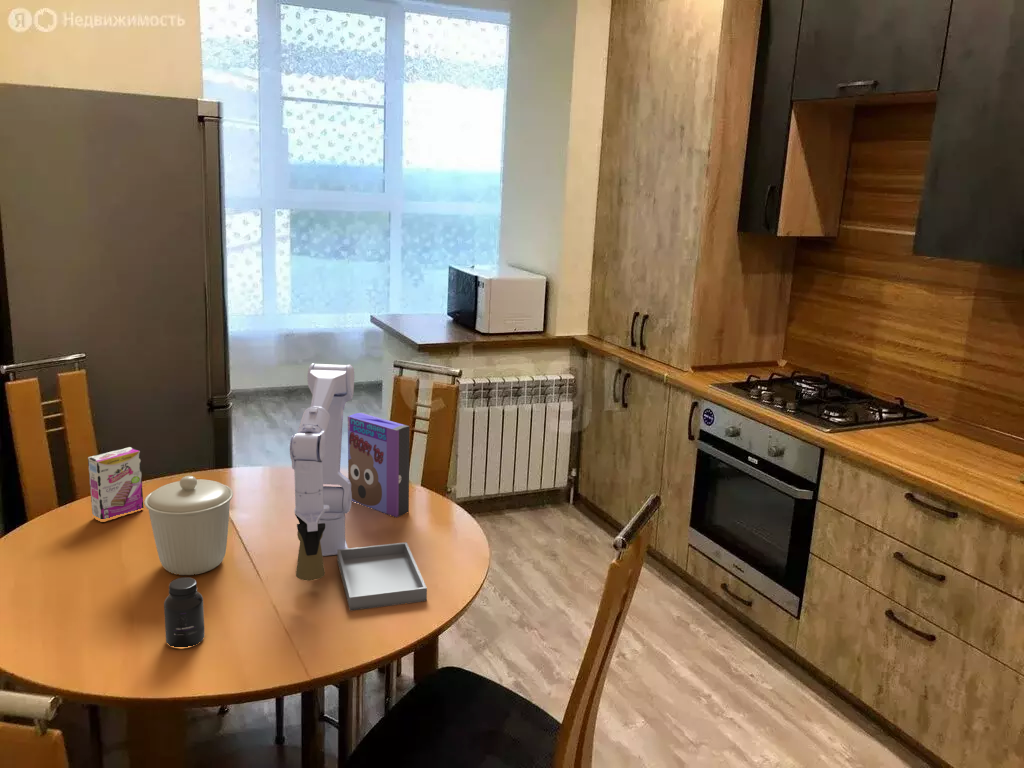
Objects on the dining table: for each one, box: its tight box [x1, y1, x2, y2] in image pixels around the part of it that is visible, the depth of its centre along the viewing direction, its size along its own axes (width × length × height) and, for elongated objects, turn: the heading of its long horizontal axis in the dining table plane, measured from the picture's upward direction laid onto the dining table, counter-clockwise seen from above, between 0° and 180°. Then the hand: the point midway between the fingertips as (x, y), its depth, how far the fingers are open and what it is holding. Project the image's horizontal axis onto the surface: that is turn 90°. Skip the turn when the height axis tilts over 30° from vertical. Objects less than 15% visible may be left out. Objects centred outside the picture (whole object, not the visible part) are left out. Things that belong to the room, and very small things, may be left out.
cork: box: [295, 530, 326, 582], centre depth 171 cm, size 6×6×11 cm
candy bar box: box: [87, 446, 145, 519], centre depth 203 cm, size 11×5×16 cm, turn 144°
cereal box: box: [347, 412, 410, 519], centre depth 214 cm, size 17×5×24 cm, turn 55°
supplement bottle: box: [163, 576, 206, 647], centre depth 152 cm, size 7×7×12 cm
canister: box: [143, 475, 234, 576], centre depth 179 cm, size 18×18×21 cm
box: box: [336, 542, 428, 612], centre depth 178 cm, size 16×22×3 cm
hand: (310, 548), depth 171 cm, fingers closed on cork, 5 cm apart
